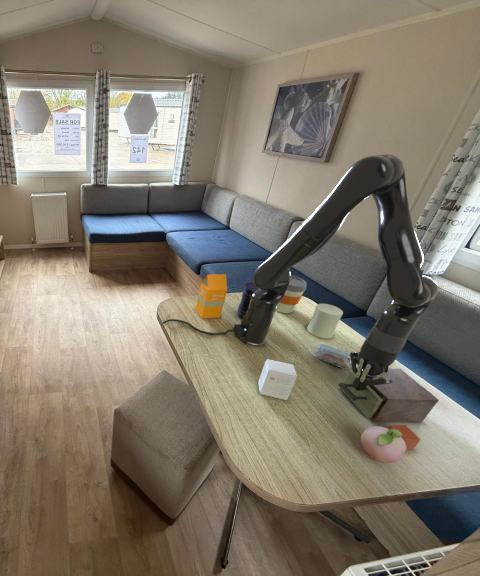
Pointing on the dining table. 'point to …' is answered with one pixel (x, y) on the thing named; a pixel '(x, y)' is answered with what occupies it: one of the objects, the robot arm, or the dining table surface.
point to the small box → (277, 379)
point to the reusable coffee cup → (292, 295)
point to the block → (406, 436)
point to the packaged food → (333, 356)
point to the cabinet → (403, 399)
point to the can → (324, 320)
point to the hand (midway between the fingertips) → (357, 388)
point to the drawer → (362, 396)
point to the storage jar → (246, 299)
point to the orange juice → (211, 296)
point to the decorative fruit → (383, 444)
